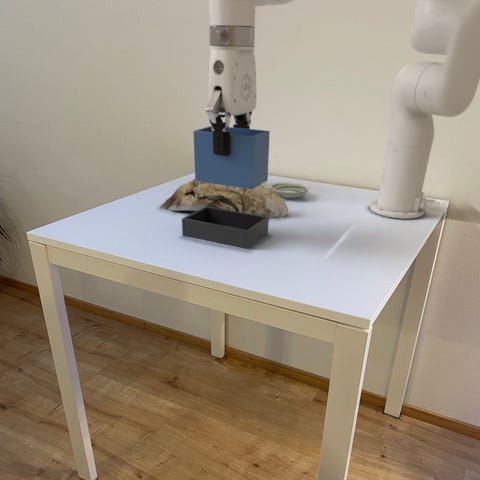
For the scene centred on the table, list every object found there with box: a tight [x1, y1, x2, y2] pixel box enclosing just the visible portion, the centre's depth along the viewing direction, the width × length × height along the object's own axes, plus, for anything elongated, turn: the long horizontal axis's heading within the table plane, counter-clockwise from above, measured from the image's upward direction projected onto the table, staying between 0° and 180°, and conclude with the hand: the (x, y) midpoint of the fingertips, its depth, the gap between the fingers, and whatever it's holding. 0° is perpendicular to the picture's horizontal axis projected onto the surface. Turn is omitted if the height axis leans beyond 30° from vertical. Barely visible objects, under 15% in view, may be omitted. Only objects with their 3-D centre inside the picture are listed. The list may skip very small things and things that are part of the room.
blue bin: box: [193, 125, 270, 189], centre depth 89 cm, size 12×7×9 cm, turn 63°
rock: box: [160, 178, 289, 219], centre depth 110 cm, size 16×10×30 cm
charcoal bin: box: [181, 206, 270, 250], centre depth 96 cm, size 15×10×4 cm, turn 64°
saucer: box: [270, 182, 309, 200], centre depth 123 cm, size 10×10×2 cm
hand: (231, 150), depth 88 cm, fingers closed on blue bin, 7 cm apart
